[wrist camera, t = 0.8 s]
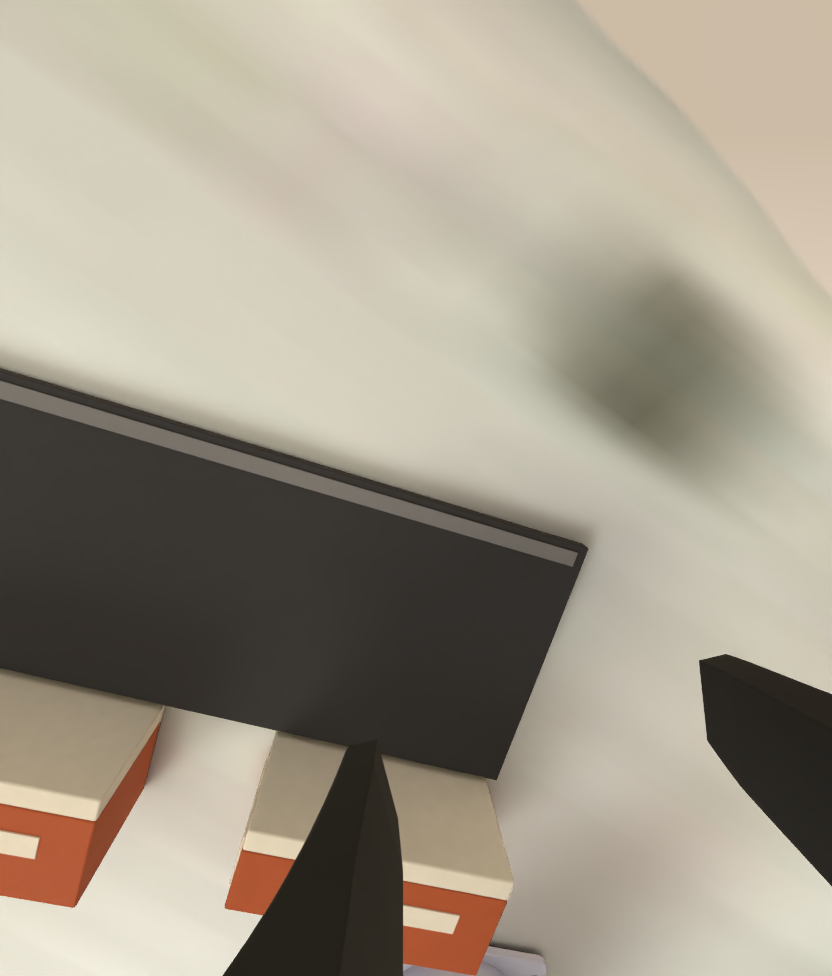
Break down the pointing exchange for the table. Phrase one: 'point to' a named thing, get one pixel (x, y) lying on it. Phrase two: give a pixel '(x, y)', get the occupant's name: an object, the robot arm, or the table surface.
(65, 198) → the table surface
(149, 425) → the shoe mat
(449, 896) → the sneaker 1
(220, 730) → the table surface
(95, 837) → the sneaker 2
